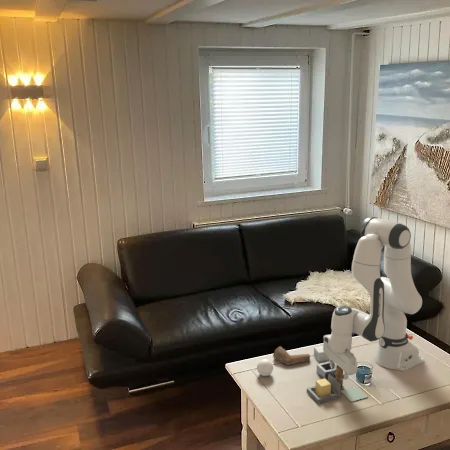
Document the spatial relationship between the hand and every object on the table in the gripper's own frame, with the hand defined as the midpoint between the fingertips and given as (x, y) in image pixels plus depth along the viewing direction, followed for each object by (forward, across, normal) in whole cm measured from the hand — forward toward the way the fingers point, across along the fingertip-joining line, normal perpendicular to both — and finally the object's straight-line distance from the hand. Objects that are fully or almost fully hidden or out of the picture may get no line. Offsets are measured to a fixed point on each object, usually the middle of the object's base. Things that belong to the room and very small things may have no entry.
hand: (338, 372), depth 221 cm
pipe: (+7, +26, +8) cm, 28 cm away
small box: (+6, +22, -6) cm, 24 cm away
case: (+6, -3, +9) cm, 12 cm away
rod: (+6, 0, -1) cm, 6 cm away
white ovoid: (+7, +20, +26) cm, 34 cm away
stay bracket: (+6, +9, -1) cm, 11 cm away
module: (+6, -3, +9) cm, 12 cm away
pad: (+6, -8, -3) cm, 10 cm away
